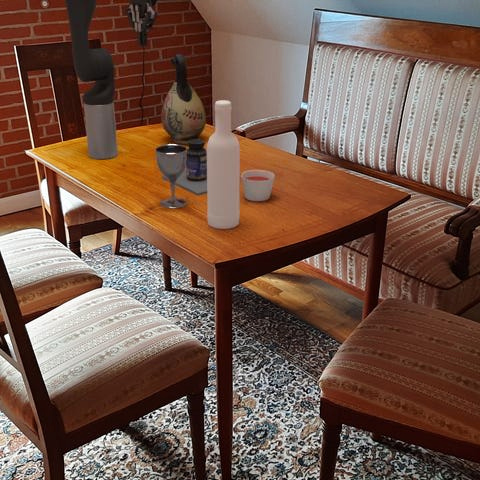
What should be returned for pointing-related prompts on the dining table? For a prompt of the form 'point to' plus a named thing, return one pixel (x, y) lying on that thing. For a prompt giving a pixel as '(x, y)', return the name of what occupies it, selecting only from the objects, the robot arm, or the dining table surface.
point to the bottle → (223, 171)
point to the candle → (257, 184)
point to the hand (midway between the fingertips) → (142, 45)
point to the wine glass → (172, 169)
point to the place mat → (191, 184)
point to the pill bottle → (196, 160)
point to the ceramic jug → (182, 107)
